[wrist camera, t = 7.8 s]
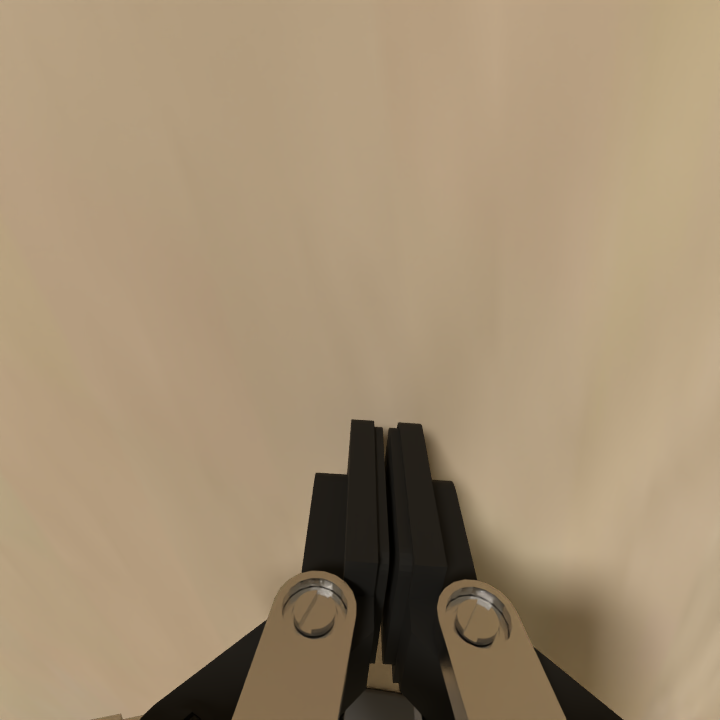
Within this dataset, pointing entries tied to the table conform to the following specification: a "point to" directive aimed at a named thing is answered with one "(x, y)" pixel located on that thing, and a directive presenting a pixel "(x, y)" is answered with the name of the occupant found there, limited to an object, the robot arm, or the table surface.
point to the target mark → (380, 706)
